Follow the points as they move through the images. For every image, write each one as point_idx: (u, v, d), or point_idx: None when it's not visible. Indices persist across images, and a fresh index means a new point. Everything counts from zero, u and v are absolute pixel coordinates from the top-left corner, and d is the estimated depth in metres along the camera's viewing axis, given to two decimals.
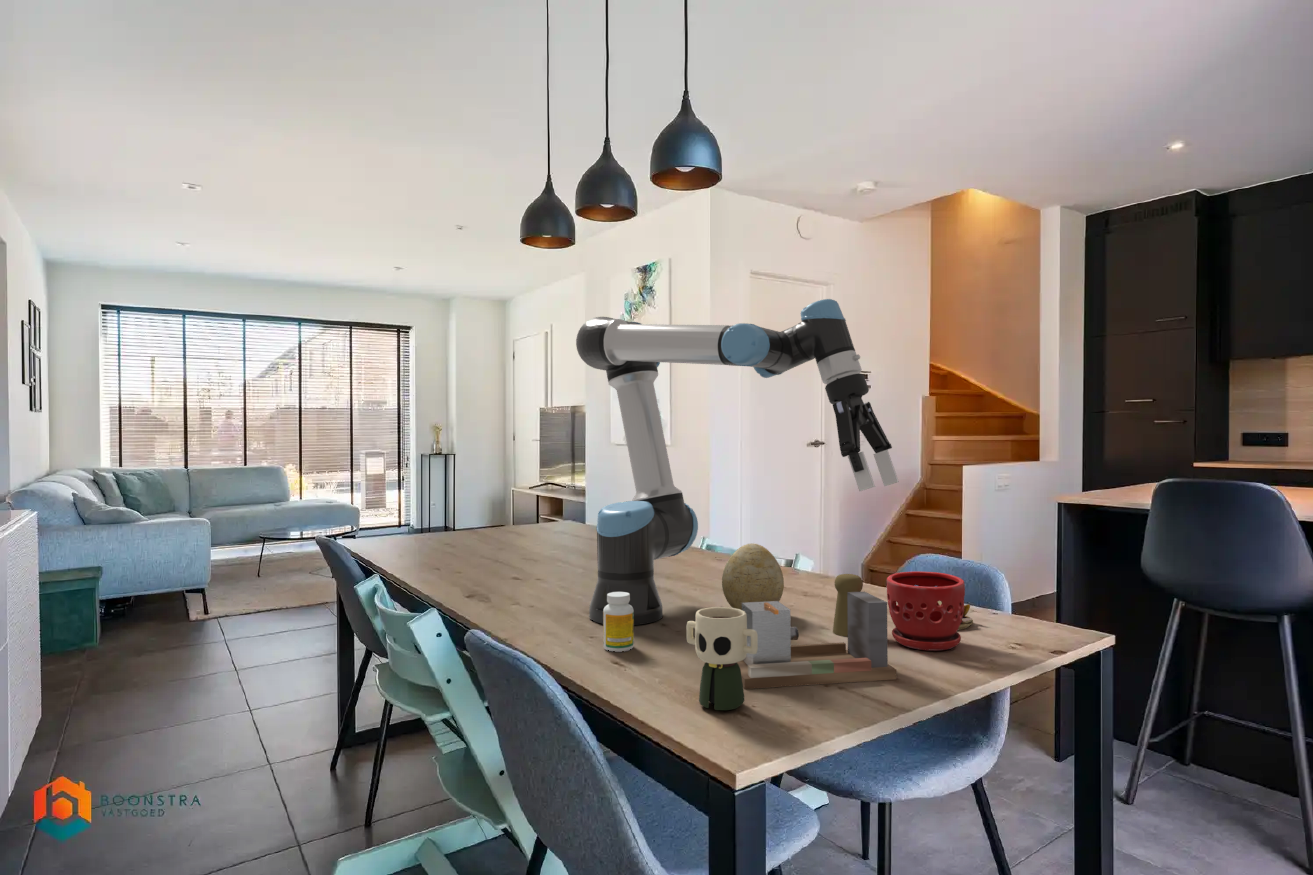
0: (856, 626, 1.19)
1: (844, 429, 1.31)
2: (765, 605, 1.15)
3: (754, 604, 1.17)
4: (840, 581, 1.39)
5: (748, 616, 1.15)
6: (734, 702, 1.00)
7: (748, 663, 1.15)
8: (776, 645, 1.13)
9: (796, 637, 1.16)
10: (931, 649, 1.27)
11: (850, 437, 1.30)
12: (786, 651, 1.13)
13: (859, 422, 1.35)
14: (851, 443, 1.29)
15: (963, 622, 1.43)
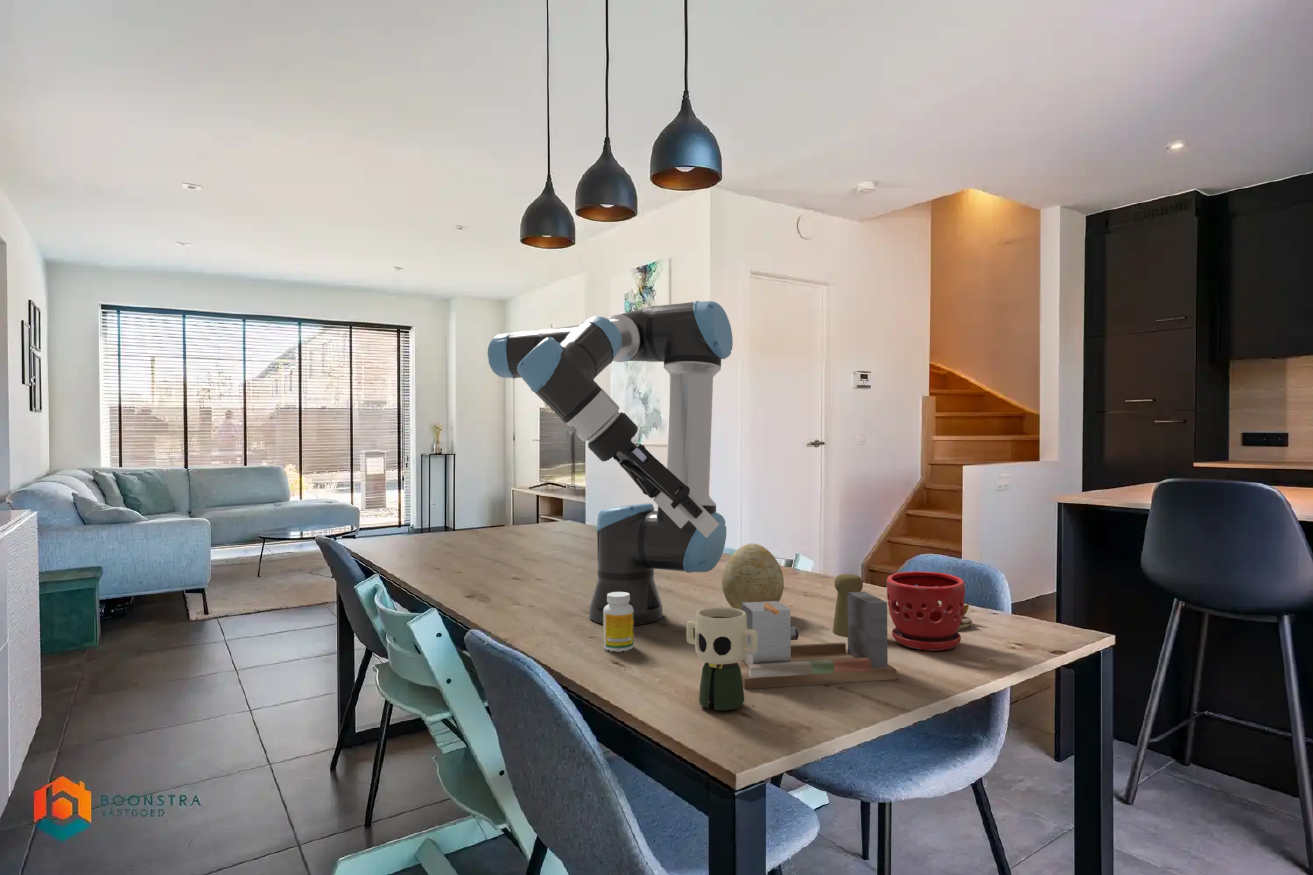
0: (856, 626, 1.19)
1: None
2: (765, 605, 1.15)
3: (754, 604, 1.17)
4: (840, 581, 1.39)
5: (748, 616, 1.15)
6: (734, 702, 1.00)
7: (748, 663, 1.15)
8: (776, 645, 1.13)
9: (796, 637, 1.16)
10: (931, 649, 1.27)
11: None
12: (786, 651, 1.13)
13: None
14: (643, 490, 1.23)
15: (962, 622, 1.42)
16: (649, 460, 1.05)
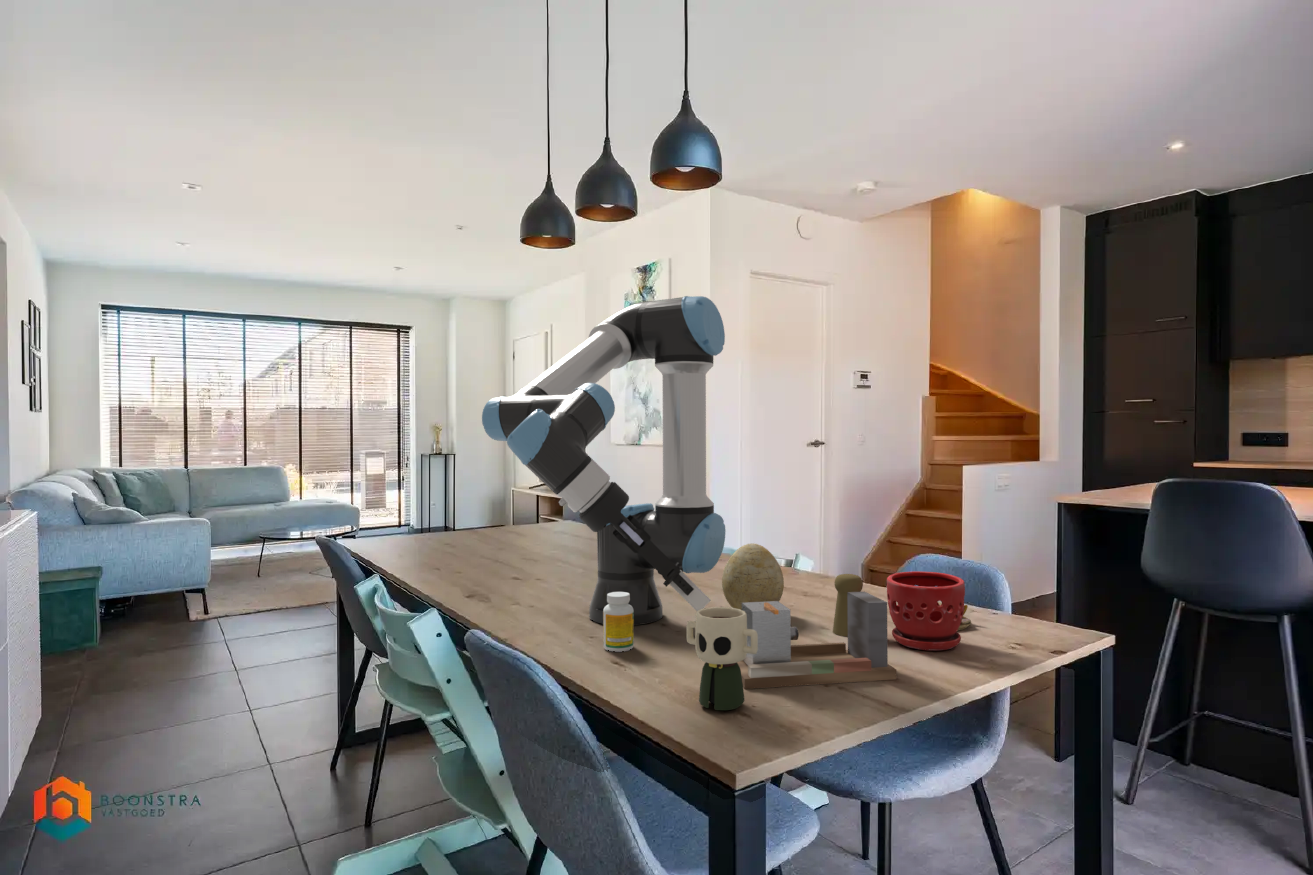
0: (856, 626, 1.19)
1: None
2: (765, 605, 1.15)
3: (754, 604, 1.17)
4: (840, 581, 1.39)
5: (748, 616, 1.15)
6: (734, 702, 1.00)
7: (748, 663, 1.15)
8: (776, 645, 1.13)
9: (796, 637, 1.16)
10: (931, 649, 1.27)
11: None
12: (786, 651, 1.13)
13: None
14: None
15: (962, 623, 1.42)
16: (646, 544, 1.07)
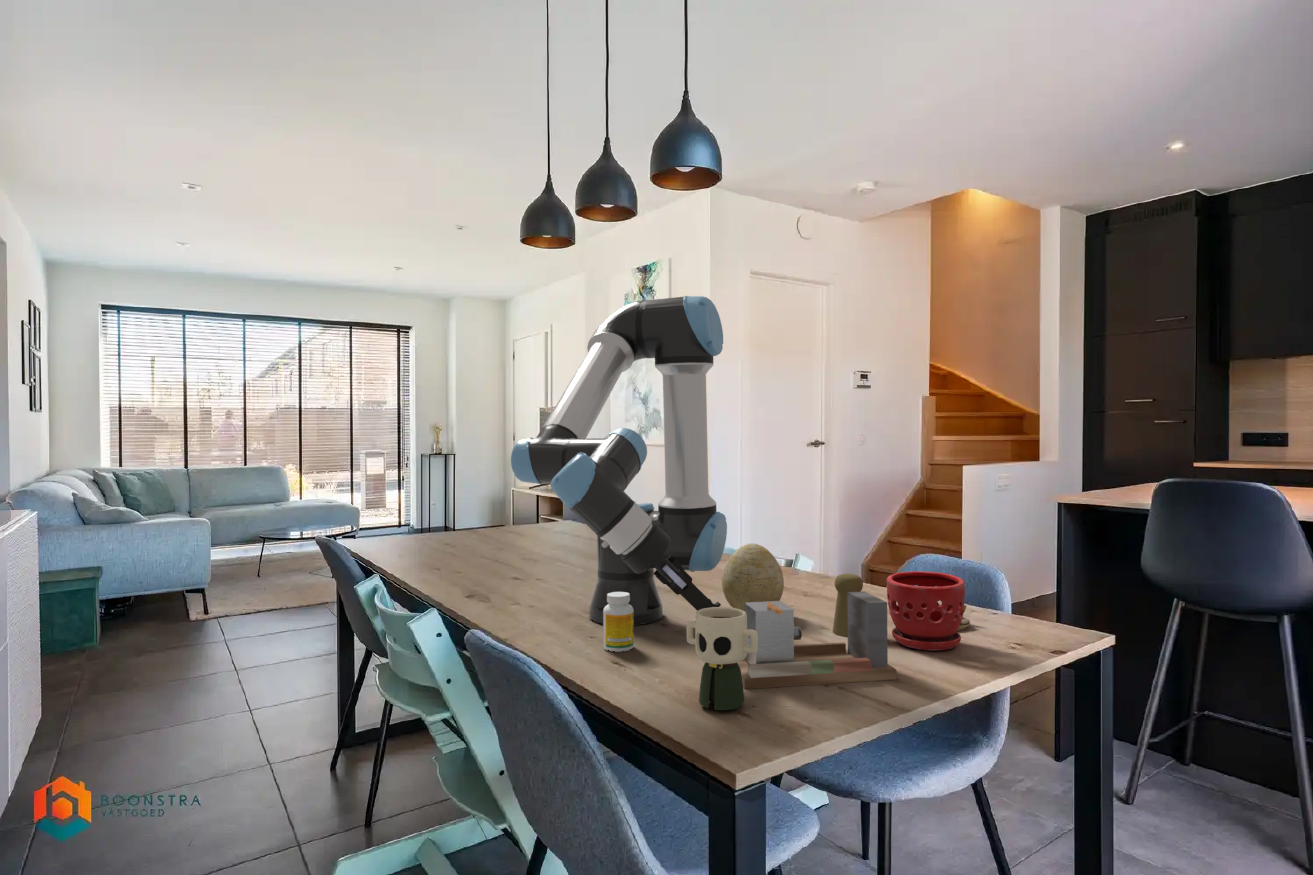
0: (856, 626, 1.19)
1: None
2: (768, 605, 1.15)
3: (757, 604, 1.17)
4: (840, 581, 1.39)
5: (751, 616, 1.15)
6: (734, 702, 1.00)
7: (751, 663, 1.15)
8: (779, 644, 1.13)
9: (799, 637, 1.16)
10: (931, 649, 1.27)
11: None
12: (789, 651, 1.13)
13: None
14: None
15: (961, 623, 1.42)
16: (688, 587, 1.08)
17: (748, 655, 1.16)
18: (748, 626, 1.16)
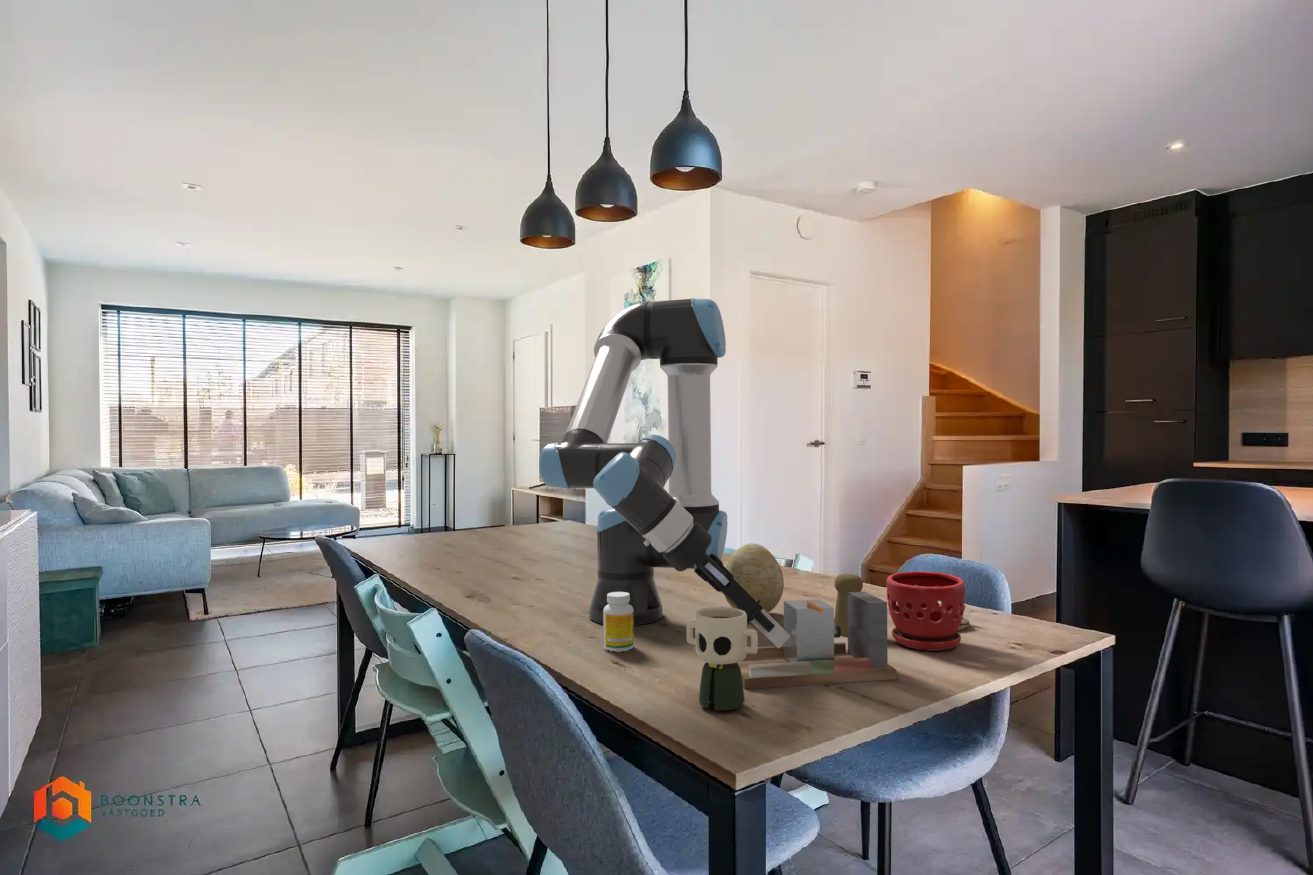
0: (856, 626, 1.19)
1: None
2: (808, 603, 1.16)
3: (796, 602, 1.18)
4: (840, 581, 1.39)
5: (791, 614, 1.16)
6: (734, 702, 1.00)
7: (791, 660, 1.16)
8: (820, 642, 1.14)
9: (838, 635, 1.17)
10: (931, 649, 1.27)
11: None
12: (829, 649, 1.14)
13: None
14: None
15: (961, 623, 1.42)
16: (731, 584, 1.09)
17: (788, 653, 1.18)
18: (788, 624, 1.17)
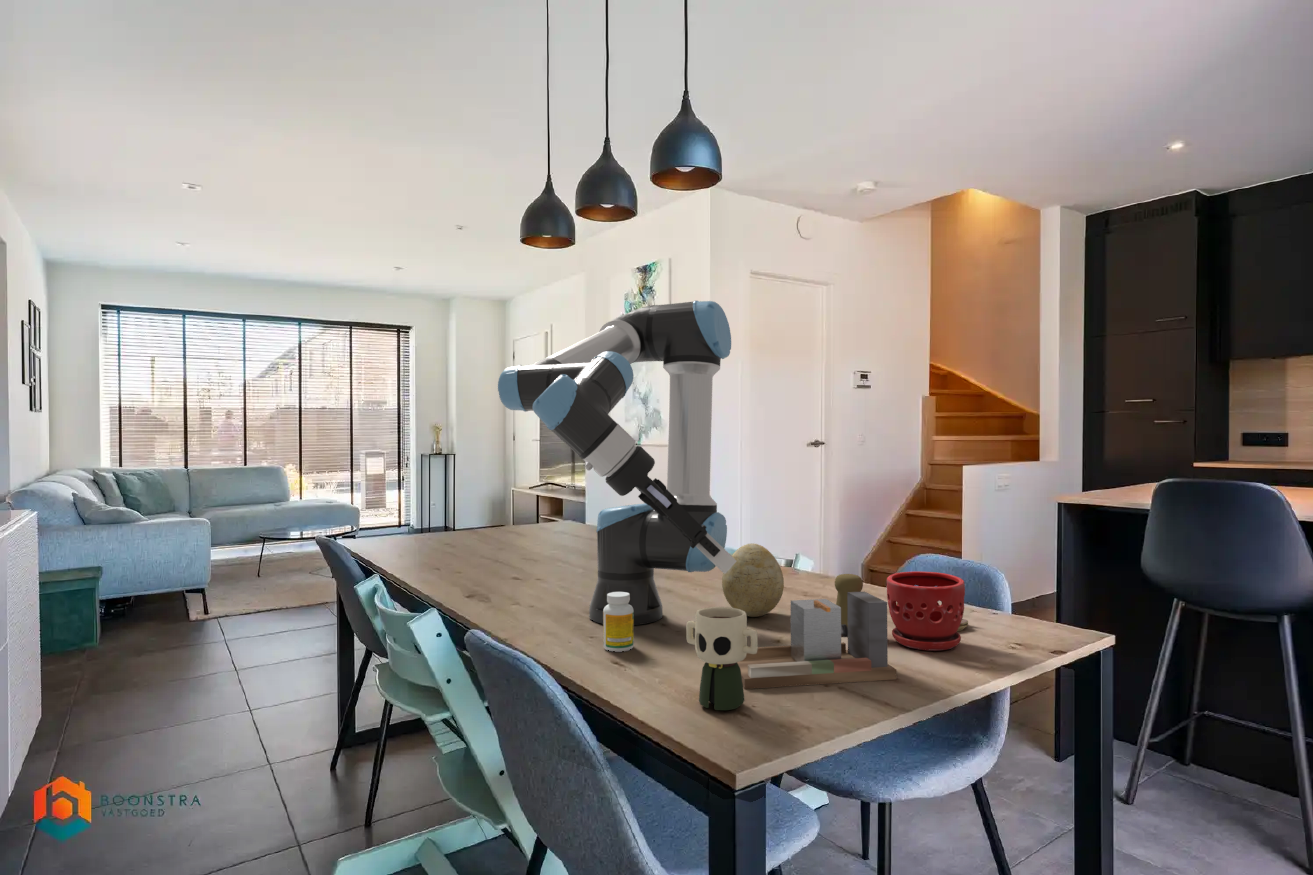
0: (856, 626, 1.19)
1: None
2: (815, 603, 1.16)
3: (803, 602, 1.18)
4: (840, 581, 1.39)
5: (798, 614, 1.16)
6: (734, 702, 1.00)
7: (798, 660, 1.16)
8: (827, 642, 1.14)
9: (845, 634, 1.17)
10: (931, 649, 1.27)
11: None
12: (837, 648, 1.15)
13: None
14: None
15: (960, 624, 1.41)
16: (673, 506, 1.08)
17: (795, 652, 1.18)
18: (795, 624, 1.18)
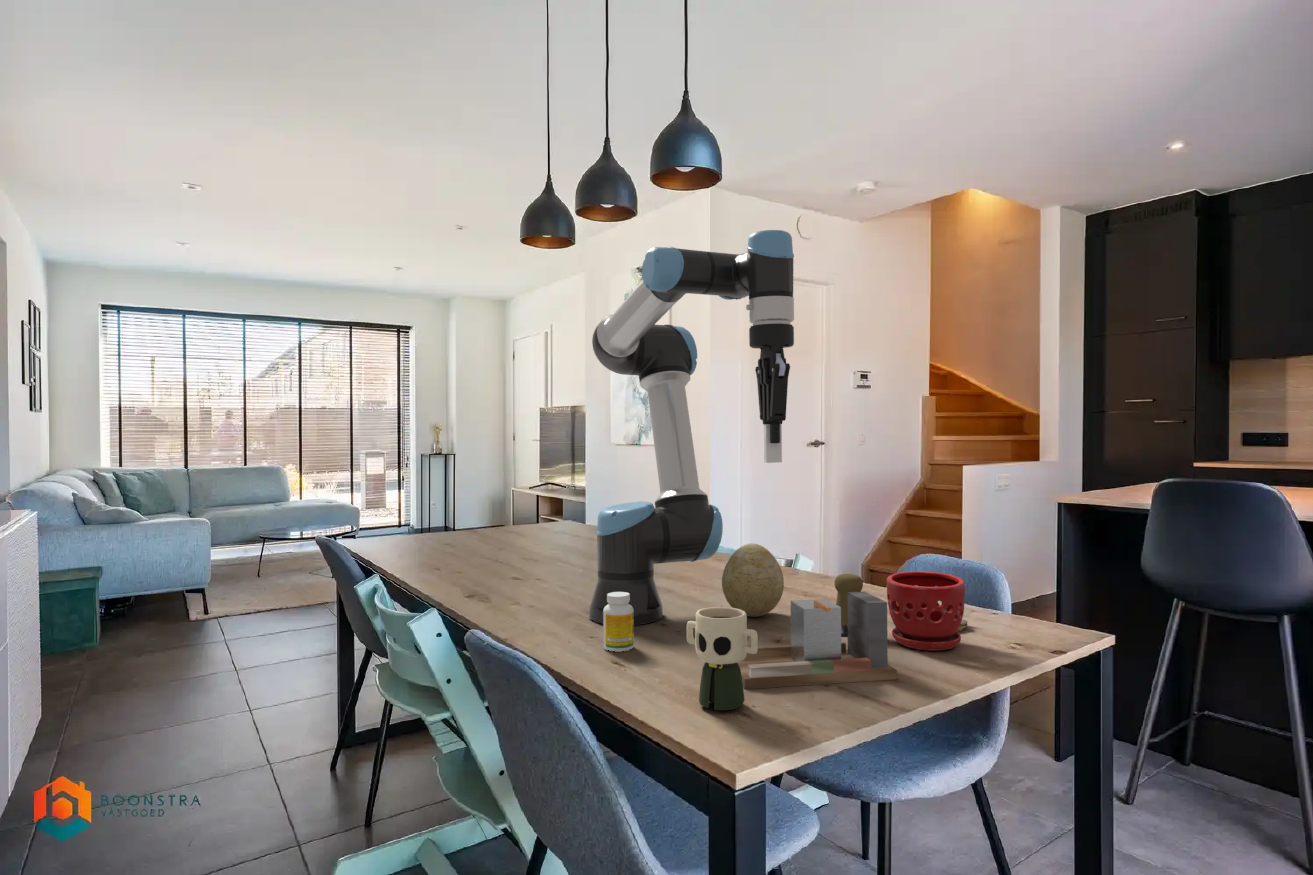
0: (856, 626, 1.19)
1: None
2: (815, 603, 1.16)
3: (803, 602, 1.18)
4: (840, 581, 1.39)
5: (798, 614, 1.16)
6: (734, 702, 1.00)
7: (798, 660, 1.16)
8: (827, 642, 1.14)
9: (845, 634, 1.17)
10: (931, 649, 1.27)
11: None
12: (837, 648, 1.15)
13: (761, 383, 1.28)
14: None
15: (960, 624, 1.41)
16: (783, 379, 1.22)
17: (795, 652, 1.18)
18: (795, 624, 1.18)
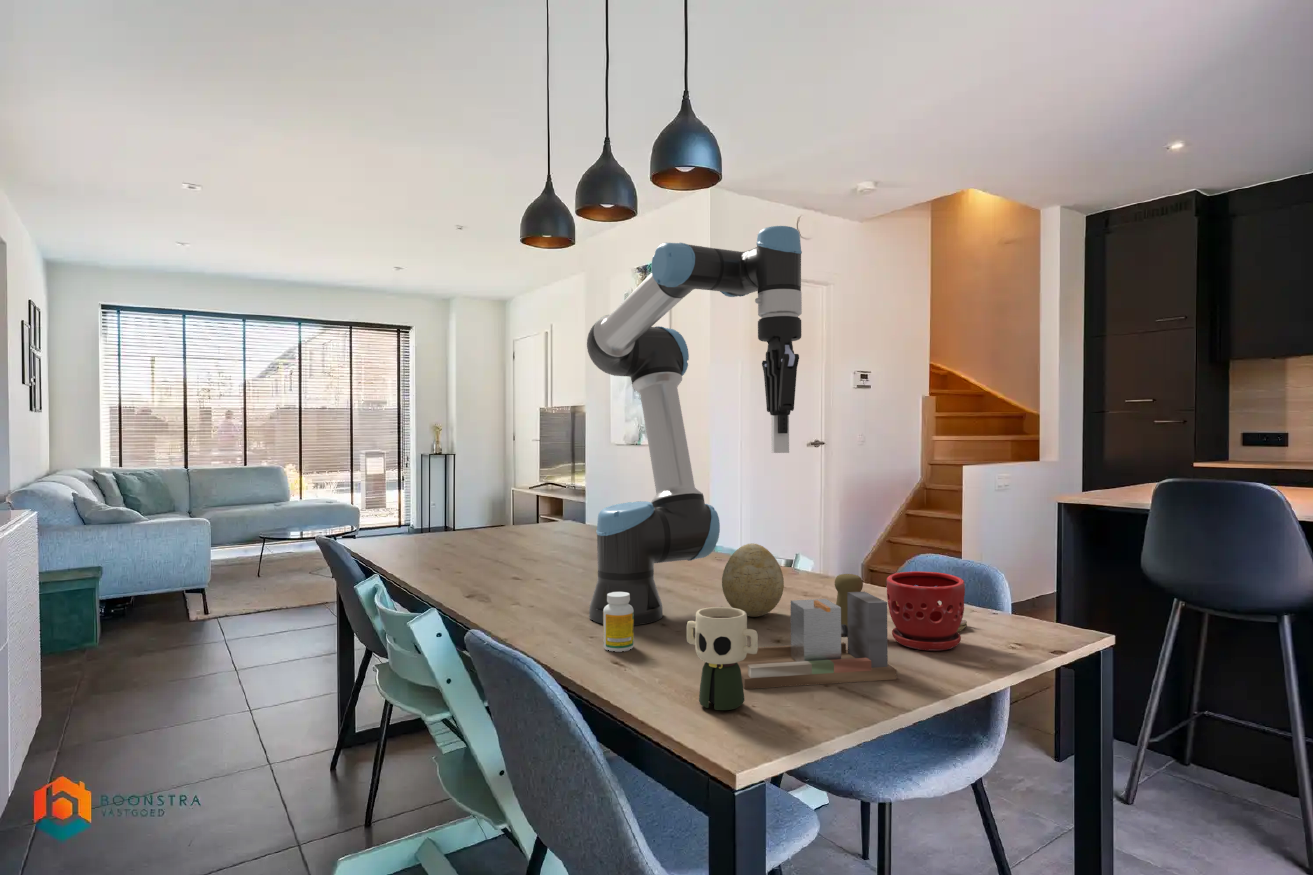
0: (856, 626, 1.19)
1: None
2: (815, 603, 1.16)
3: (803, 602, 1.18)
4: (840, 581, 1.39)
5: (798, 614, 1.16)
6: (734, 702, 1.00)
7: (798, 660, 1.16)
8: (827, 642, 1.14)
9: (845, 634, 1.17)
10: (931, 649, 1.27)
11: None
12: (837, 648, 1.15)
13: (769, 376, 1.31)
14: None
15: None
16: (792, 369, 1.25)
17: (795, 652, 1.18)
18: (795, 624, 1.18)
